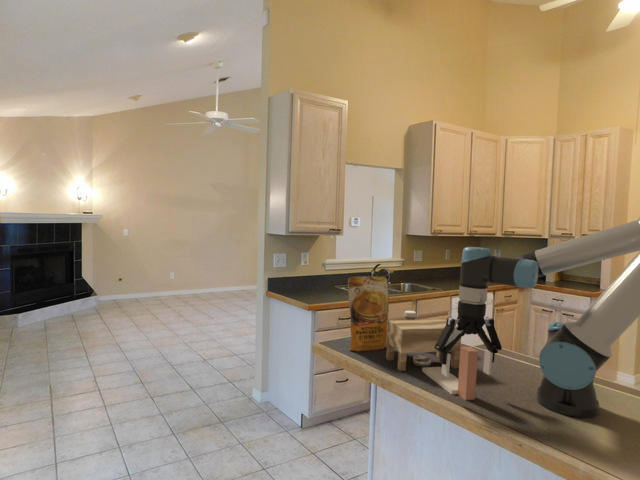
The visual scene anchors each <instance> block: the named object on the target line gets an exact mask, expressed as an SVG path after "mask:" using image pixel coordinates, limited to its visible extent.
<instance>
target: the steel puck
mask: <svg viewBox="0 0 640 480" xmlns="http://www.w3.org/2000/svg"><path fill="white" fill-rule="evenodd" d="M412 363H413V365H416V366H418V367H423V368H426V367H431V364H432V359H431V358H430V357H428V356H425V355H414V356H413V358H412Z"/></svg>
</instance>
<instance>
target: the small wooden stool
mask: <svg viewBox="0 0 640 480" xmlns="http://www.w3.org/2000/svg"><path fill="white" fill-rule="evenodd" d="M446 320H447V319H443V318H439V319H438V318H436V319H435V318H434V319H415V320H405V319H391V320H390V319H388V325H387V338H386V345H387V347H386V351H385V352H386V353H385V358H386V360H387V361H394V357H395V350H396V351H397V352H398V354H397V357H398V358H397V370H398V371H399V372H406V369H407V354H415V353H416V354H419V353H436V356H435V357H436V358H438V359H440V355H441V352H440V351H438V350H437V349H435V345H436V343H437V341H438V339H439V337H440V335H441V333H442V331H443V329H444V328H445V326H446V322H447V321H446ZM457 326H458V325H456V326H455V327H454V329H455V328H456V327H457ZM460 331H461V330H460ZM453 332H454V330H453ZM453 332H452V333H453ZM452 333H451V335H452ZM451 335H450V336H451ZM461 343H462V337H461V338H460V339H459V340H458V341H457V343H456V344H455V345H454V346H453V347H452V349H451V350H450V352H451V356H450V367H451V368H453V369H459V364H460V348H461V347H462V344H461Z"/></svg>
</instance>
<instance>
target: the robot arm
mask: <svg viewBox="0 0 640 480" xmlns="http://www.w3.org/2000/svg"><path fill="white" fill-rule="evenodd" d="M635 252H638V253H636V255H635V256H634V257H633V258H632V259H631V261H629V262H628V264H627V265H626V266H625V267H624V268H623V269H622V270H621V271H620V273H619V274H618V275H617V276H616V277H615V278H614V279H613V280H612V281H611V283H610V284H609V285H607V287H606V288H605V290H603V292H601V294H600V295H599V296H598V297H597V298H596V299H595V300H594V301H593V302H592V303H591V305H590V306H589V307H588V308H587V309H586V310H585V311H584V312H583V313H582V315H581V316H580V317H579V318H578V319H577V320H576V321H570V322H569V321H567V322H561V321H552V322H550V323H549V324H548V328H547V339H546V340H547V341H546V342H545V344H544V346H543V348H542V349H541V351H540V353H539V367H540V370H541V372H542V374H543V377H542V379H541V382H540V384H539V386H538V388H537V389H536V396H535V397H536V401H537V403H539V404H540V405H541V406H543V407H545V408H547V409H549V410H551V411H553V412H555V413H559V414H561V415H566V416H568V417H569V416H570V417H577V418H594V417H596V416H598V415H599V413H600V402H599V401H598V398H597V394H596V393H597V392H596V389H595V385H594V383H595V382H594V381H595V380H594V378H596V372H598V371H599V369H601V368H602V366H603V365H605V363H606V362H607V361H608V360H609V359H610V358H611V357H613V356H612V345H613V344H614V343H615V342H616V341H617V340H618V339H619V338H620V337H621V336H622V335H624V333H625V331H626V330H628V328H629V327H631V326H632V324H633V323H635V321H636V320H638V318H639V317H640V216H639V217H638V219H636V220H633V221H630V222H627V223H626V222H625V223H622V224H619V225H616V226H612V227H610V228H605V229H603V230H599V231H596V232H593V233H590V234H586V235H584V236H580V237H577V238H572V239H570V240H567V241H566V240H565V241H563V242H560V243H556V244H553V245H550V246H547V247H543V248H540V249H537V250H534V251H529V252H527V253H524V254H518V255H515V256H514V257H506V256H505V257H504V256H496V255H495V256H494V255H492V253H491V249H490V248H487V247H477V246H466V247H464V248H463V250H462V255H461V260H460V274H459V276H460V277H459V289H458V299H459V300H458V302H457V318H453V317H451V316H449V317H448V316H447V319H446V320H447V322H446V326H445V328H444V329H443V331H442V333H441V335H440V337H439V339H438V341H437V343H436V345H435V349H437V350H438V351H440V352H441V355H440V358H439V362H440V364H441V367H442V372H441V373H442V374H443V375H444V376H446V377H449V373H450V367H451V356H452V353H449V351H450V350H451V349H452V347H453V346H454V345H455V344H456V343H457V341H458V340H459V339H460V338H461V339H462V337H465V335H478V337H479V339H480V340H481V342H482V343H483V345H485V347H486V349H485V350H484V354H483V355H484V357H483V370H482V372H483V373H484V374H486V375H488V376H492V371H493V370H492V369H493V368H492V367H493V363H494V362H495V357H496V354H498V353H499V351H501V350H502V349H503V347H502V344H501V341H500V338H499V336H498V333H497V330H496V327H495V320H494V319H493V318H491V317H489V316H486V312H487V304H486V303H487V301H488V286H489V283H490V284H498V285H504V286H510V287H516V288H517V287H518V288H521V289H522V288H525V289H534V288H536V286H537V283H538V278H541V277H544V276H548V275H552V274H555V273H559V272H563V271H568V270H571V269H574V268H578V267H582V266H587V265H589V264H594V263H598V262H602V261H605V260H610V259H612V258H617V257H620V256H624V255H628V254H632V253H635ZM455 326H457V327H456V328H455V329H454V327H455ZM483 326H485V328H486V331H487V334H488V335H487V334H486V331H485V330H484V328H483ZM453 330H454V332H453ZM460 330H461V331H460ZM452 332H453V333H452ZM451 333H452V335H451ZM450 335H451V336H450ZM450 352H451V351H450Z"/></svg>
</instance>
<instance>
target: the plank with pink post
mask: <svg viewBox="0 0 640 480" xmlns="http://www.w3.org/2000/svg"><path fill="white" fill-rule="evenodd" d="M478 357H479V351H478V350H477V349H475V348H473V347H471V346H461V348H460V364H459V368H458V377H456V376H455V375H454V374H452V373H451V372H449V377H446V376H444V375H443V374H442V373H441V372H442V366H426V367H422V368H421V371H422V373H424V374H425V375H426V376H427V377H428V378H430V379H431V380H433V381H434V382H435V383H436V384H437V385H439V386H440V387H441V388H443V389H444V390H445V391H446V392H448V393H449V394H450V395H458V396H459V397H460V398H462V399H463V400H464V401H471V400H475V399H476V386H477V371H478Z"/></svg>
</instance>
